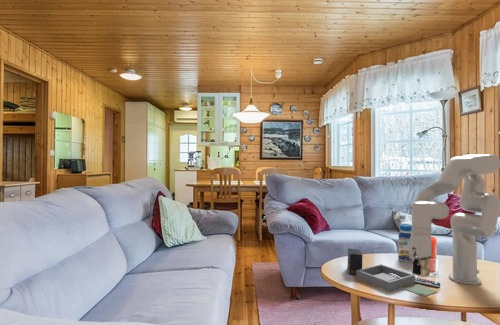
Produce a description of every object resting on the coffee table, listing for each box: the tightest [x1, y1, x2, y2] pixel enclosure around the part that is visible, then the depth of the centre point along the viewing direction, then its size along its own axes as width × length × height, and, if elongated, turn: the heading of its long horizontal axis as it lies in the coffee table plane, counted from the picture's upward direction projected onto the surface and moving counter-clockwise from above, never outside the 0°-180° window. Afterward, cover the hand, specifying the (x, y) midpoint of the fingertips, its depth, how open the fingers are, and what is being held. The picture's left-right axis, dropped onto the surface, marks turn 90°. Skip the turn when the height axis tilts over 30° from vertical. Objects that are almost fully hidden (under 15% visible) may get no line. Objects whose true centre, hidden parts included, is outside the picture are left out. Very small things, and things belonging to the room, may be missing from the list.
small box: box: [347, 248, 363, 276], centre depth 162 cm, size 11×6×10 cm, turn 168°
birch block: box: [411, 258, 431, 278], centre depth 139 cm, size 5×5×7 cm
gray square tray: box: [355, 264, 416, 293], centre depth 150 cm, size 18×18×4 cm
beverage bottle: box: [397, 223, 412, 263], centre depth 182 cm, size 8×8×20 cm
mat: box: [404, 284, 439, 298], centre depth 139 cm, size 10×9×1 cm
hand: (420, 272), depth 139 cm, fingers closed on birch block, 5 cm apart
